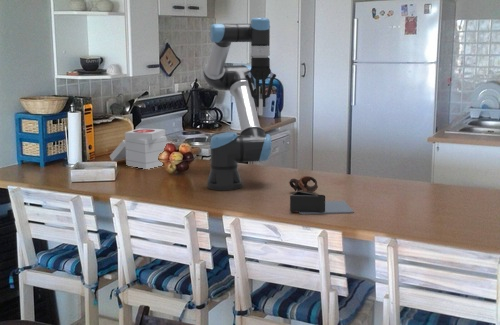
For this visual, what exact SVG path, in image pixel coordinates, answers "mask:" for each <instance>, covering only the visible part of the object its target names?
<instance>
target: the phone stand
mask: <svg viewBox="0 0 500 325" xmlns="http://www.w3.org/2000/svg"><path fill="white" fill-rule="evenodd" d="M325 201H326V195H324V194H316V193H314V192H312V193H308V192H303V190H300V191H297V190H296V191H295V192H294V193H292V194H290V196H289V212H292V213H293V212H294V213H295V212H296V213H299V212H320V213H323V212H325Z"/></svg>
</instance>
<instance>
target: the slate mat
mask: <svg viewBox="0 0 500 325" xmlns="http://www.w3.org/2000/svg"><path fill="white" fill-rule="evenodd" d="M298 213H299V215H322V214H323V215H328V214H329V215H330V214H332V215H334V214H355V211H354V210H353V209H352V208H351V206H349V204H348V203H347V202H346V201H345V200H328V201H327V200H325V212H323V213H320V212H298Z"/></svg>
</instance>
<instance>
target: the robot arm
mask: <svg viewBox="0 0 500 325" xmlns="http://www.w3.org/2000/svg"><path fill="white" fill-rule="evenodd" d="M209 30H210V32H209V34H210V35H209V36H210V41H211V42H212V44H211V48H210V49H211V50H210V53H209V55H208V56H209V57H208V60H207V62H206V63H205V65H204V67H203V78H204V80H205V82H206V83H207V84H208V85H209V86H210V87H211V88H213V89H214V90H216V91H217V90H218V91H229V93H230V95H231V96H232V97H234V98H233V99H234V102H235V106H236V108H235V109H236V112H237V118H238V121H239V126H240V130H241V131H240V133H239V135H238V133H237V132H235V131H231V132H229V131H228V132H222V133H217V134H214V135H213V136H211V137H210V138H211V139H210V145H209V149H210V171H209V174H208V178H207V181H206V186H207V187H206V188H208V189H210V190H214V191H232V190H233V191H234V190H237V189H241V188H242V186H243V181H242V178H241V176H240V175H241V174H240V172H239V170H238V169H239V168H238V165H239V164H238V163H247V162H248V163H251V162H255V163H256V162H266V161H268V160H269V158H270V157H271V152H272V137H271V135H270V134H268V133H266V132H265V129H264V128H262V127H261V125H260V121H259V117H258V116H263V114H264V112H263V111H264V108H265V107H266V99H268V98H270V96H271V93H272V90H273V89H272V88H273V84H274V80H275V79H276V77H277V74H276V73H273V72H272V70H271V65H270V64H271V61H270V60H271V59H270V54H271V53H270V52H271V51H270V48H271V46H270V39H271V37H270V36H271V34H270V32H271V31H270V30H271V25H270V19H269V18H268V17H252V18H251V20H250V23H213V24H211V26H210V28H209ZM232 43H250V44H251V45H250V56H251V59H250V60H251V61H250V62H251V63H250V65H247V64H241V65H226V61H227V58H228V54H229V51H230V48H231V44H232ZM268 77H269V84H268V86H267V91H266V80H267V79H268ZM260 80H261V98H260ZM254 90H255V92H254ZM256 108H258V113H257V109H256Z"/></svg>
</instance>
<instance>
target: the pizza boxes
mask: <svg viewBox="0 0 500 325" xmlns="http://www.w3.org/2000/svg"><path fill="white" fill-rule="evenodd" d="M166 144H167V145H168V137H167V136H166V129H165V128H164V129H163V128H161V129H160V128H135V129H132V130H129V131H125V132H124V139H123V140H122V141H120V143H119V144H117V146H116V148H115V149H114V150H113V151H112V152H111V153H110V155H109V158H110V160H111V162H114V161H120V160H125V163H126V164H125V165H128V166H133V167H138V168H143V169H142V170H144V169H148V170H151V169H150V168H153V169H155V168H154V167H157V168H159V167H158V166H162V165H163V163H162V162H160V161H159V160H158V156H159V154H160V153H162V152H163V151H164V148H165V146H166ZM133 167H132V168H133ZM162 167H163V166H162ZM138 168H137V169H138Z"/></svg>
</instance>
